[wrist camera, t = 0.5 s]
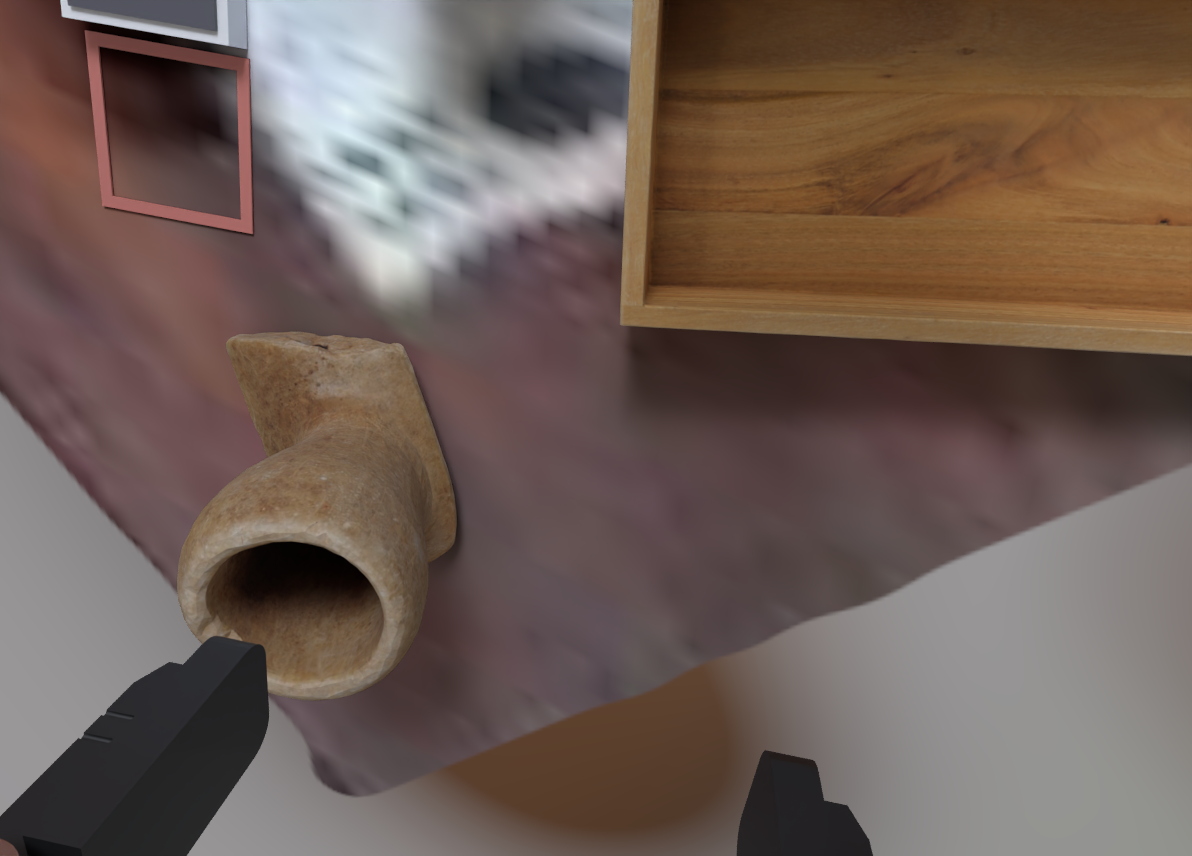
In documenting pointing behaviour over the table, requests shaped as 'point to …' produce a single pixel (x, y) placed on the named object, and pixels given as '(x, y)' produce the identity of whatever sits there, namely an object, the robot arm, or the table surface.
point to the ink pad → (169, 17)
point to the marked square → (102, 134)
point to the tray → (913, 171)
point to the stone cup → (323, 516)
